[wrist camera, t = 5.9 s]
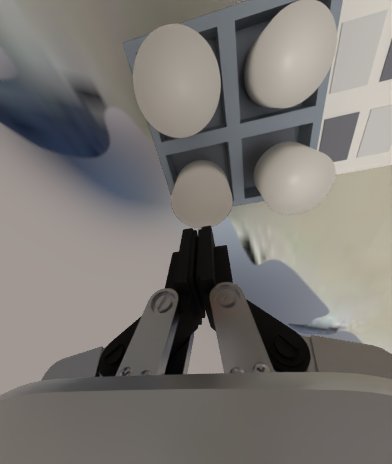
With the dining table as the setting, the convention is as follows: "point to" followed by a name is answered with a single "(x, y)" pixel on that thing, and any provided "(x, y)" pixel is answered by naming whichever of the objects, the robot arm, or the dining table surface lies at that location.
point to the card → (360, 89)
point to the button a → (176, 80)
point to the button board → (239, 102)
